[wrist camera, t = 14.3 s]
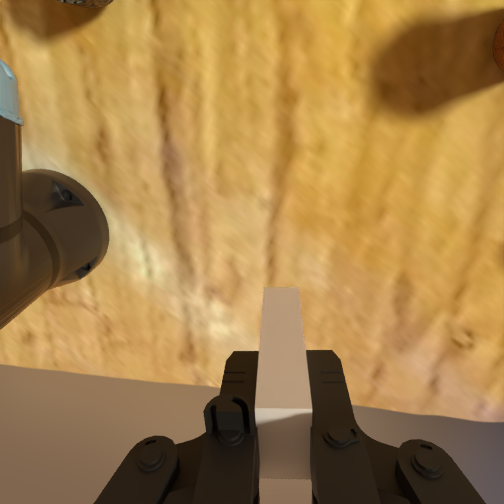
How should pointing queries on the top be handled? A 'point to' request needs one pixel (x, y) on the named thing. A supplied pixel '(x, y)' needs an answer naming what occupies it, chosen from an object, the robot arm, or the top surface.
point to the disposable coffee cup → (499, 46)
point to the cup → (88, 3)
